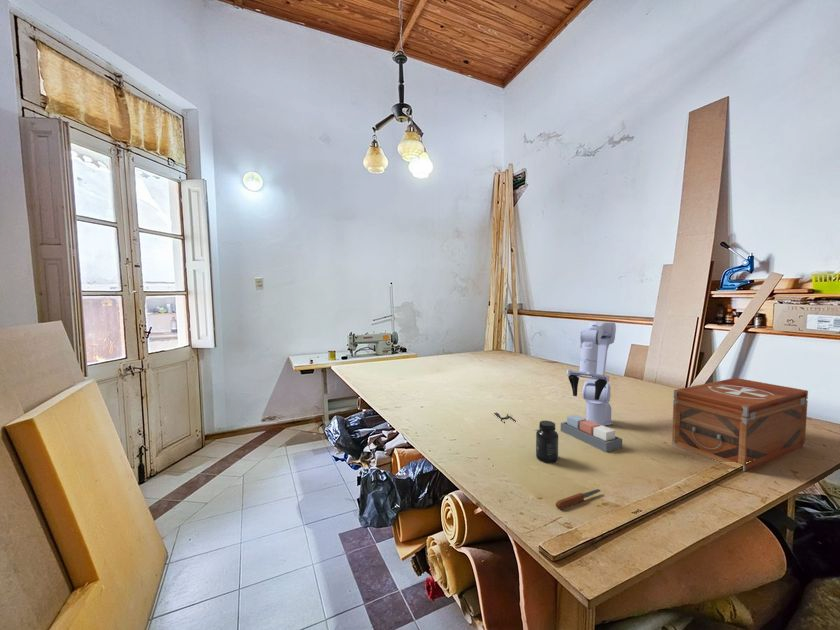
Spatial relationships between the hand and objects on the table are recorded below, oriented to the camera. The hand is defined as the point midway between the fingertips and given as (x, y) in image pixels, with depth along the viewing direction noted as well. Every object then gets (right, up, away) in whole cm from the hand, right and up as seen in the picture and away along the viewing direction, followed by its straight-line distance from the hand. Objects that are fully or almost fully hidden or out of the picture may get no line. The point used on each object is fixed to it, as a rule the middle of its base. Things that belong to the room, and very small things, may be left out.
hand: (585, 398), depth 123 cm
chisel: (-19, -19, -35) cm, 44 cm away
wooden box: (+51, -16, -5) cm, 54 cm away
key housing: (+2, -16, +2) cm, 16 cm away
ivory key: (+5, -13, -4) cm, 14 cm away
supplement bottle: (-19, -17, -13) cm, 29 cm away
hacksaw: (-20, -16, +18) cm, 32 cm away
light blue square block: (0, -12, +7) cm, 14 cm away
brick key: (+2, -13, +2) cm, 13 cm away
